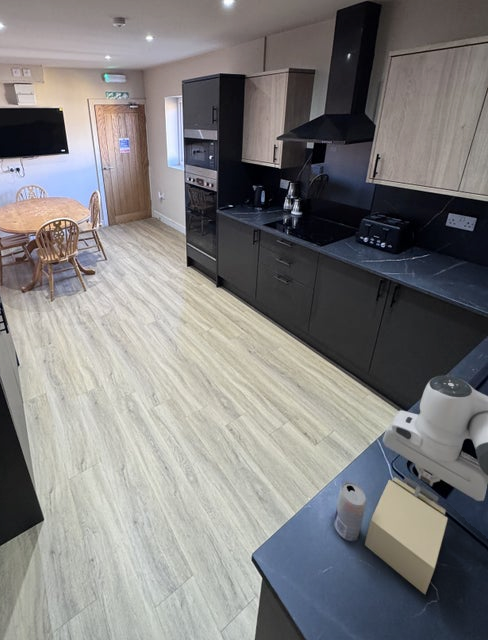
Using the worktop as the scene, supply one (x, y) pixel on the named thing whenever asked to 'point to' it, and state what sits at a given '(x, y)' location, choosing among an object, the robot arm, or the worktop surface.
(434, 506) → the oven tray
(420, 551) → the tan cardboard carton
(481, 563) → the worktop surface
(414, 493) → the orange stamp with handle
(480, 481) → the robot arm
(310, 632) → the worktop surface
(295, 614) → the worktop surface
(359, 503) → the energy drink
